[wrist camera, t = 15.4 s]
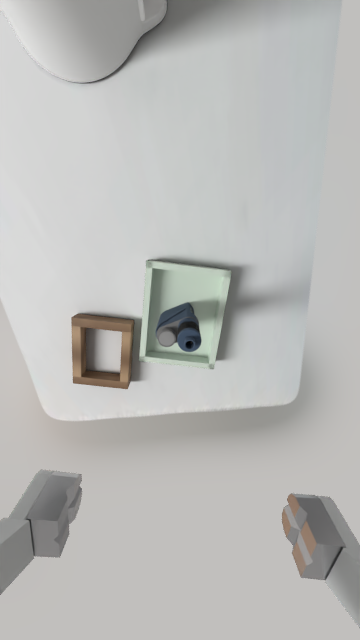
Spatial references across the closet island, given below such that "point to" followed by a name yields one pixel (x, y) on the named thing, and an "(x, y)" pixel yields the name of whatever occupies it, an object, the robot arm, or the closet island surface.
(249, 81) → the closet island surface
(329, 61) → the closet island surface
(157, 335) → the vaping device
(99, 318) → the holder
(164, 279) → the tray
